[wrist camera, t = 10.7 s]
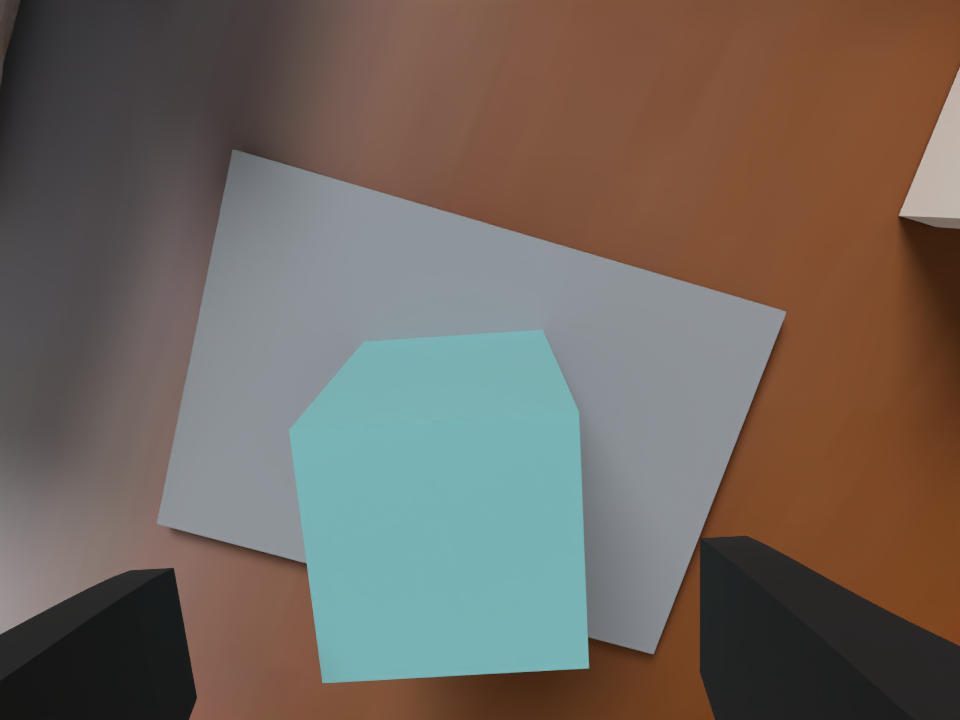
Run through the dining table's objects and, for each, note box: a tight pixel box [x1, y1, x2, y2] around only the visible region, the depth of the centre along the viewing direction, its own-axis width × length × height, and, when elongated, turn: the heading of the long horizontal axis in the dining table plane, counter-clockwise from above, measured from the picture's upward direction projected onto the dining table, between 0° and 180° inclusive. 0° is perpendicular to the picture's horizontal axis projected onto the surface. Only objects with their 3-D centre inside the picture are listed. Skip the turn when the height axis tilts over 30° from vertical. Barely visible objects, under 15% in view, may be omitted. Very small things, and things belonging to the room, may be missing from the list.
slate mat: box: [157, 149, 786, 654], centre depth 19 cm, size 14×10×1 cm
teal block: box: [289, 330, 589, 683], centre depth 15 cm, size 4×4×7 cm
